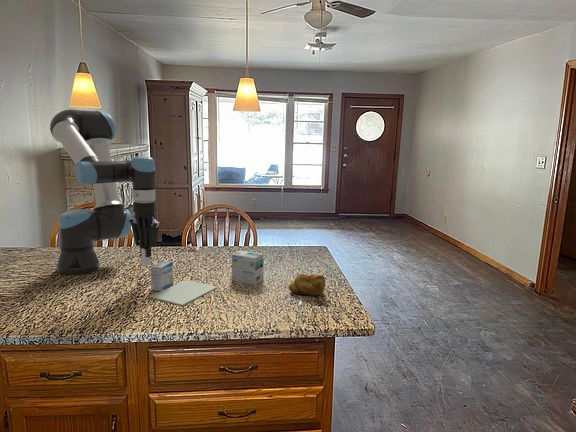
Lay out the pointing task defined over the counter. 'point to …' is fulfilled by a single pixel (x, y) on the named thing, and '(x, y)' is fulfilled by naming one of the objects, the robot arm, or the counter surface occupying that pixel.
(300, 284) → the bread roll
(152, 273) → the medicine box
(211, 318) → the counter surface
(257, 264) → the light bulb box
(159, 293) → the cutting board
